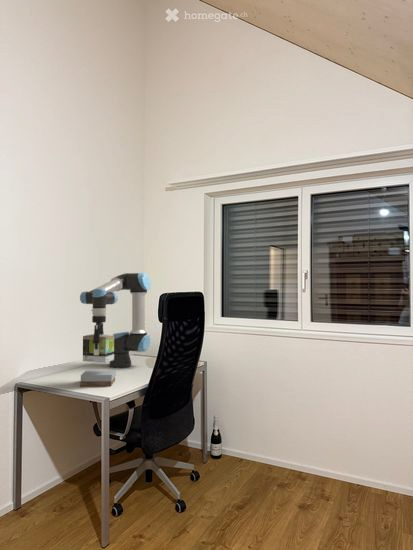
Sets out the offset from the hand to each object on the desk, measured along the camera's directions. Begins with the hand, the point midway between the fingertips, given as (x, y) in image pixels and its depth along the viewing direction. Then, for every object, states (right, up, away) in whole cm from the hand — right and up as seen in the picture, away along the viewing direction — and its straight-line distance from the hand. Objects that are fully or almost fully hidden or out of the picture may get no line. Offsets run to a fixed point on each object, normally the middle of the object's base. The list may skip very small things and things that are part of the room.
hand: (98, 353), depth 228 cm
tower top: (0, -14, 0) cm, 14 cm away
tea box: (0, -5, 0) cm, 5 cm away
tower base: (0, -18, 0) cm, 18 cm away
